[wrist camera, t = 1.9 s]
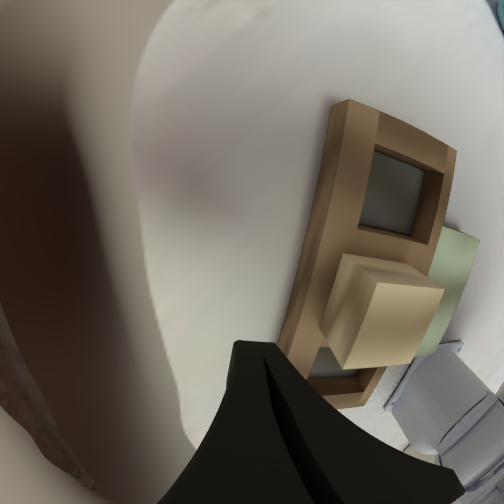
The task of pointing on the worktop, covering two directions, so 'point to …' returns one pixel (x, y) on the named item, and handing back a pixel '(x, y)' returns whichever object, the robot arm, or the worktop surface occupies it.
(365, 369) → the tray
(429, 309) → the birch block
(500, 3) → the teapot
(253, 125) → the worktop surface
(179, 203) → the worktop surface
